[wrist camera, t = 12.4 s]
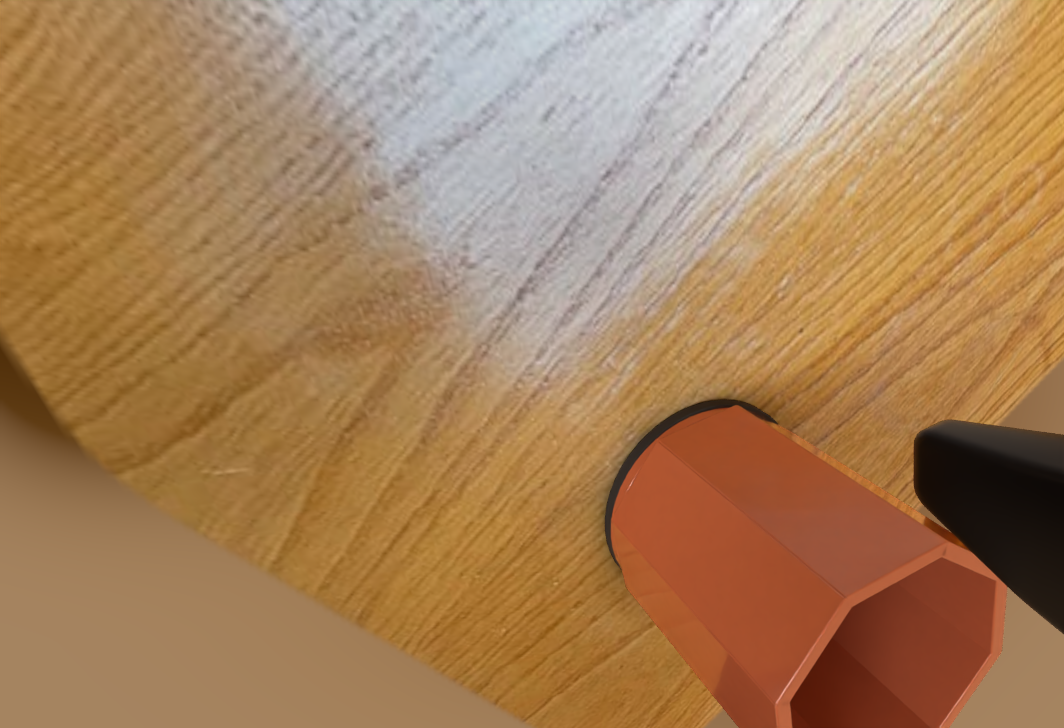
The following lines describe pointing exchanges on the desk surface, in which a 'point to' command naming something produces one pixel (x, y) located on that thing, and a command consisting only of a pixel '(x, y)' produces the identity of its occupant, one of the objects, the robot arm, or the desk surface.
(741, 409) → the octagonal orange cup
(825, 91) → the desk surface
